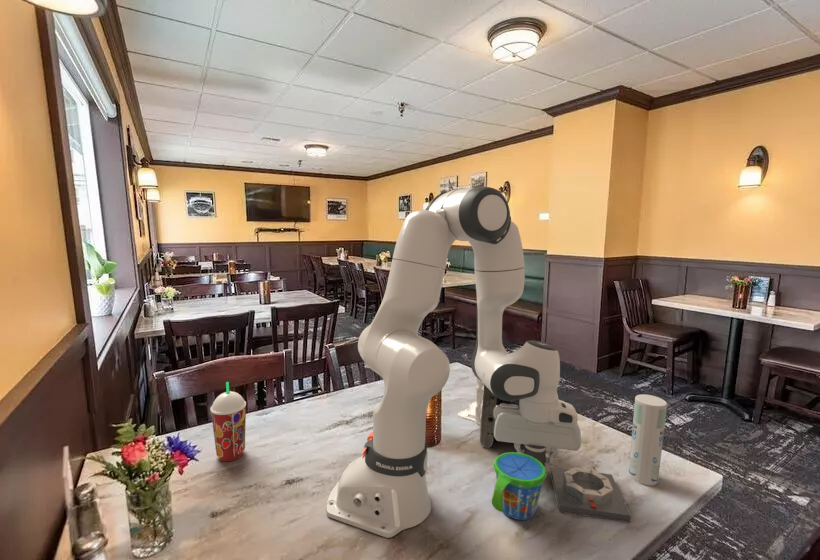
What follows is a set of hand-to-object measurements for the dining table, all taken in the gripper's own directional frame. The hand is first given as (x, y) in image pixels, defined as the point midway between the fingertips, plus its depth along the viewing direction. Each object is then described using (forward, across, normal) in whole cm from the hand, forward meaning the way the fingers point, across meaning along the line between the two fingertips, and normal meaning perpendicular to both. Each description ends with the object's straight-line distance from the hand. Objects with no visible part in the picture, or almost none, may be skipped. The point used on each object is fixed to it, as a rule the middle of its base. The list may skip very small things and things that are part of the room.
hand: (534, 460), depth 97 cm
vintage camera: (+4, -6, +13) cm, 15 cm away
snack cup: (+4, -5, -14) cm, 15 cm away
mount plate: (+3, +11, -6) cm, 13 cm away
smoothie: (+4, -77, -11) cm, 78 cm away
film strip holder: (+4, -13, +28) cm, 31 cm away
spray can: (+3, +26, +4) cm, 27 cm away
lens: (+3, 0, 0) cm, 3 cm away
